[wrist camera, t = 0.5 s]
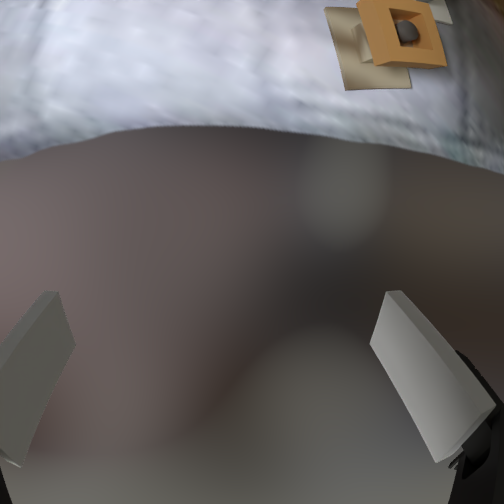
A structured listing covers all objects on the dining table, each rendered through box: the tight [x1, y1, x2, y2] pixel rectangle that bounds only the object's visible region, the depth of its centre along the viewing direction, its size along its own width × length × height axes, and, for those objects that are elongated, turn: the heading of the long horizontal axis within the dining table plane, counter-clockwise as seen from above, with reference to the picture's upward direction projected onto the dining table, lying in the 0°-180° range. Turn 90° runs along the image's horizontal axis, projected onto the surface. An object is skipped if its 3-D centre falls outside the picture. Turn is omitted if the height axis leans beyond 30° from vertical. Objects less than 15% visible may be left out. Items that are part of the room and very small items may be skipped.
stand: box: [324, 7, 419, 91], centre depth 24 cm, size 12×10×10 cm
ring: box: [356, 0, 447, 69], centre depth 20 cm, size 8×8×4 cm
